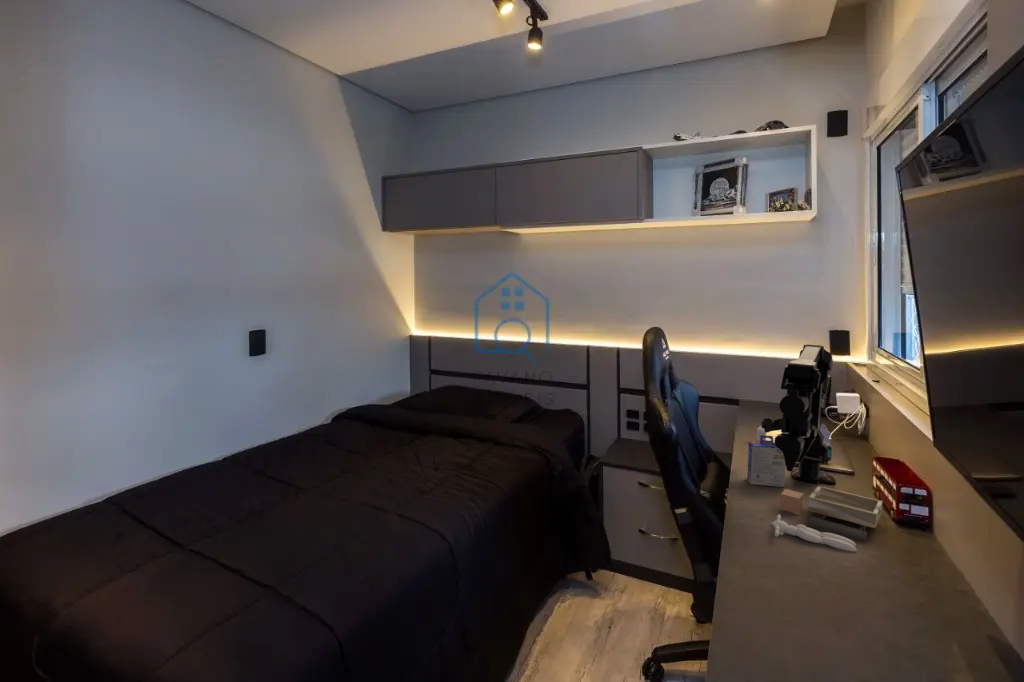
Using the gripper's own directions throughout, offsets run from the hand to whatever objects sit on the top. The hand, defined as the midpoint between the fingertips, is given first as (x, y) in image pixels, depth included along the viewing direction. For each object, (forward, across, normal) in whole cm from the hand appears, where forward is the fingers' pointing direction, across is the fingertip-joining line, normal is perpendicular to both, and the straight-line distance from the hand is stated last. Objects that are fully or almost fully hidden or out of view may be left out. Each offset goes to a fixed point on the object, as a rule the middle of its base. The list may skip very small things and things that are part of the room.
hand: (794, 466), depth 142 cm
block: (+12, 0, 0) cm, 12 cm away
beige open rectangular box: (+12, -2, +12) cm, 17 cm away
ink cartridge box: (+12, -15, -11) cm, 22 cm away
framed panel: (+12, -7, +12) cm, 18 cm away
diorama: (+12, -52, -12) cm, 55 cm away
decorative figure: (+13, +15, +8) cm, 21 cm away
